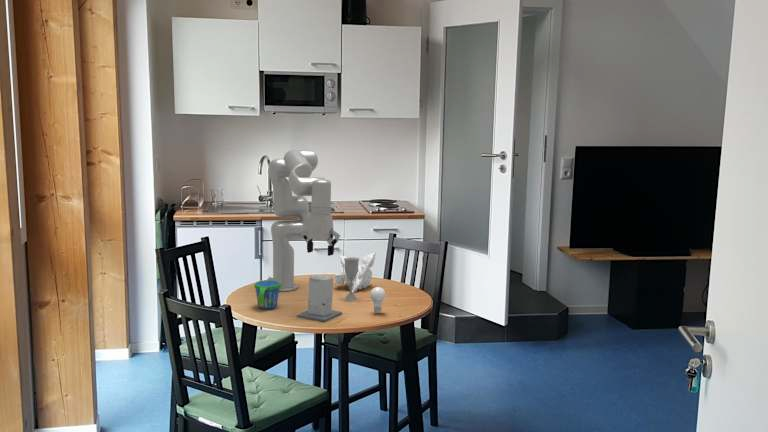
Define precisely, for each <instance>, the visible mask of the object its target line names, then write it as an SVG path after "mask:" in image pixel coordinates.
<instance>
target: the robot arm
mask: <svg viewBox="0 0 768 432" xmlns="http://www.w3.org/2000/svg"><path fill="white" fill-rule="evenodd" d="M318 162H319V159H318V155H317V153H316V152H315V151H314V150H312V149H291V150H287V152H286V153H284V156H283V157H282V158H281V157H280V158H275V159H272V160H271V161H270V162H269V164H268V175H269V178H270V181H271V184H272V192H273V193H272V195H273V196H272V197H273V199H272V200H273V213H274V215H275V216H276V217H277V218H297V219H284V220H281V219H280V220H276V221H274V222H273V223H272V224H271V227H270V234H271V239H272V240H271V241H272V277H270V276H269V277H268V278H267V279H266V280H272V281H278V282H280V284H281V286H280V288H279V292H291V291H295V290H297V289H298V285H297V284H296V283H295V250H294V248H293V246H292V245H291V244H290V242H294V241H295V242H296V241H304V240H305V242H306V250H307V251H306V252H307V253H309V254H310V253H312V252H313V251H314V240H316V241H323V242H325V241H326V242H327V244H328V245H327V256H333V255H334V254H335V245H336V244H337V243H338V242H339V239H340V237H341V235H340V234H339V233H338V232H336V231H335V230H334V221H333V220H334V219H333V216H332V214H331V210H332V209H331V204H332V182H331V181H330V180H328V179H326V178H324V177H321V176H311V175H312V174H313V171H314V170H315V169H317V166H318ZM306 197H311V206H310V207H309V205H310V204H309V202H308V199H307V198H306Z"/></svg>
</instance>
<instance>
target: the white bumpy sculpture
mask: <svg viewBox="0 0 768 432" xmlns="http://www.w3.org/2000/svg"><path fill="white" fill-rule="evenodd" d="M376 254H377V253H376V252H375V251H374V252H373V253H369V254H367V255H365V256H364V257H363V258H362V260H361V264H358V272H357V275H356V277H355V279H354V280H353V281H352V283H353V285H352V288H353V289H352V293H353V294H354V293H357V292H358V291H361V290H362V288H363V289H365V288H368V287H370V285H371V282H372V278H373V272H372V270H371V268H372V267H373V266H374V264H375V259H376V257H375V256H376ZM338 257H339V259H340V264H341V267H342V268H344V269H345V261H344V258H348V256H345V255H340V254H338ZM334 280H335V283H336V284H338V285H343V284H344V283H345V284H346V285H345V286H347V287H348V288H350V285H349V284H350V280H349V279H348V278H347V275H346V273H345V271H344V272H340V271H339V272H337V273H335V275H334Z"/></svg>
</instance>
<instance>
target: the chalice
mask: <svg viewBox="0 0 768 432" xmlns="http://www.w3.org/2000/svg"><path fill="white" fill-rule="evenodd" d="M347 257H348V256H347ZM344 261H345V268H344V272H345V273H346V275H347V278H348V279H349V280H350V284H349V285H350V287H348V288H349V293H347V294H346V297H345V301H347V302H355V301H357V300H358V299H357V297H356V294H354V293H352V289H353V288H352V285H353V283H352V281H353V280H354V279H355V277H356V275H357V272H358V265H359V261H360V258H359V257H353V256H352V257H351V256H350V257H348V258H344Z"/></svg>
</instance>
